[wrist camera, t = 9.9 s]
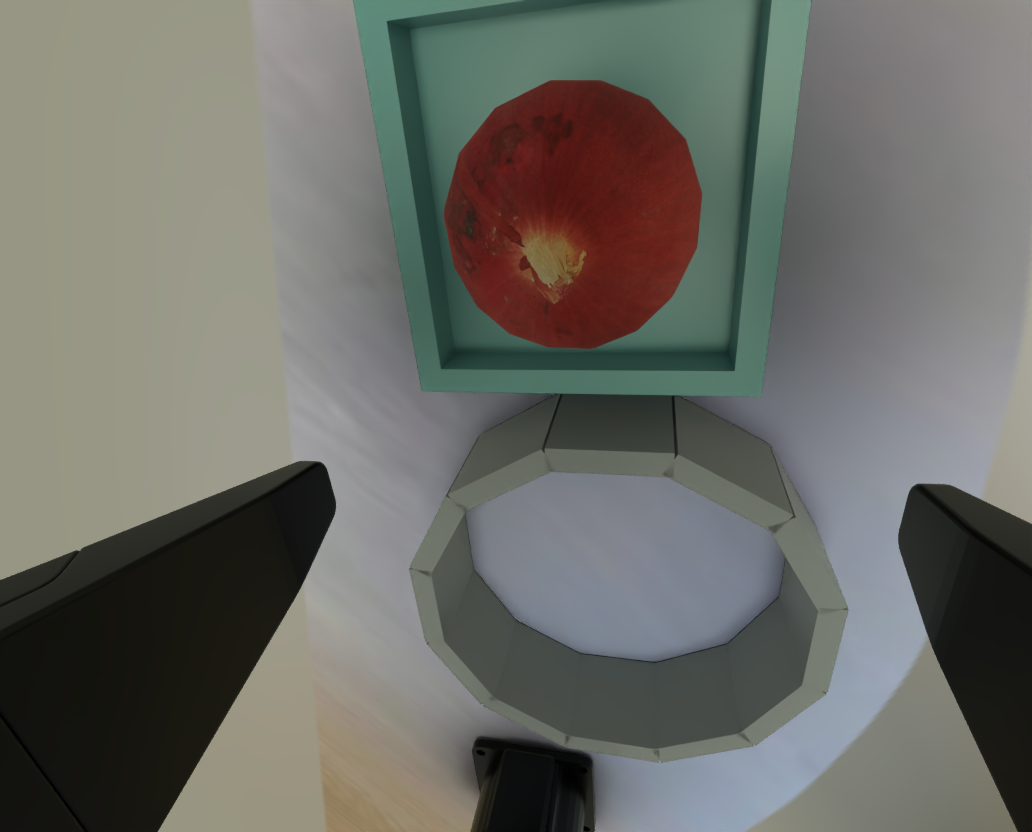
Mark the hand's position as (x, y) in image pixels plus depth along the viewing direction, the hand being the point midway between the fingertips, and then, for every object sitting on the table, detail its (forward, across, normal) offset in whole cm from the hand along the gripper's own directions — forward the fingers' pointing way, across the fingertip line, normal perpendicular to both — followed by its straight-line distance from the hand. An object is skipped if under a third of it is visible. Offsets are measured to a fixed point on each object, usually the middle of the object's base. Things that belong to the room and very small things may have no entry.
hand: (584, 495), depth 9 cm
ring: (+11, 0, +10) cm, 15 cm away
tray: (+11, +1, -3) cm, 11 cm away
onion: (+10, +1, -3) cm, 11 cm away
